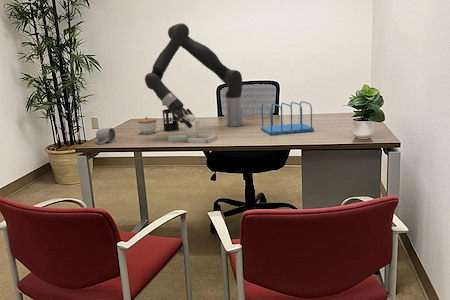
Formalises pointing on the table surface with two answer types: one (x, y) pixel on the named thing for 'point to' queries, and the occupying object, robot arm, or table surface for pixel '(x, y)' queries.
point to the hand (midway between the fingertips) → (193, 125)
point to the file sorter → (290, 127)
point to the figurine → (195, 125)
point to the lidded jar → (147, 125)
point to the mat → (178, 138)
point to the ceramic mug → (105, 135)
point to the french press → (170, 126)
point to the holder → (205, 137)
